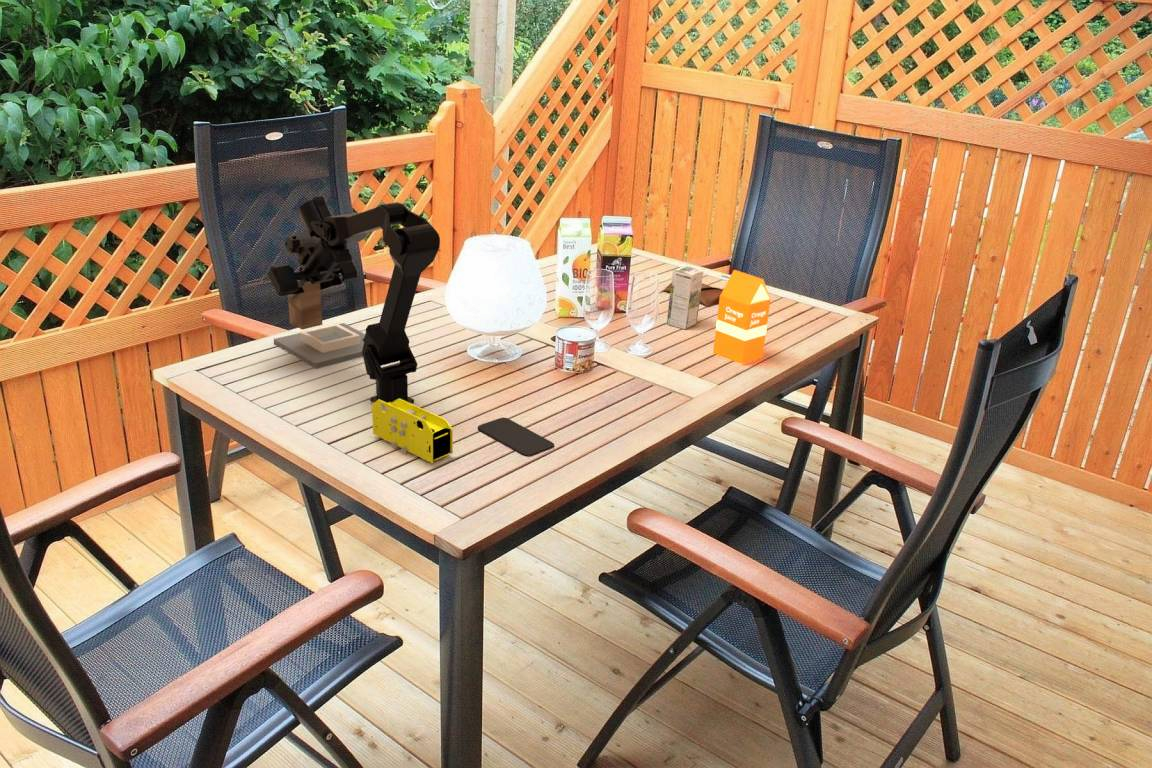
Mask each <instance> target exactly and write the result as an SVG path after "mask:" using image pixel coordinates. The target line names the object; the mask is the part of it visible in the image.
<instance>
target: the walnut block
mask: <svg viewBox="0 0 1152 768" xmlns="http://www.w3.org/2000/svg"><path fill="white" fill-rule="evenodd" d="M302 288H303V290H304V293H302V294H299V295H297V296H295V297H292V298H290V296H289V295H287V302H288V315H289V317H288V318H289V324H290V325H292V326H294V327H296V328H298V329H300V330H303V331H304V330H308V329H310V328H311V329H312V328H314V327H319V326H320V327H321V326H323V311H322V293H321V289H320V283H317V284H311V282H307V283H304V285H303V286H302Z"/></svg>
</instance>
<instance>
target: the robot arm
mask: <svg viewBox="0 0 1152 768" xmlns="http://www.w3.org/2000/svg"><path fill="white" fill-rule="evenodd" d="M297 209H298V213H299V216H300V217H301V219H302V222H303V224H304V226H305V228H306V229H307V231H301V232H295V233H294V234H291V235H289V236H288V237H287V238H286V239H285V242H284V248H285V249H286V250H287V252H289V254H297V256H298V259H297V261H298V264H299V266H302V267H299V268H298V270H299V271H298V272H297V271H296V272H295V270H294V268H293V267H291V265H290V264H288V263H281V264H275V265H271V266H270V268H269V270H268V272H267V275H268V278H269V280H270V282H271V283H272V286H273V287H274V290H275V292H276V294H277V295H278V296H280V297H284V296H288V295H289V296H290V298H292V297H295V296H297V295H299V294H302V293H304V290H303V288H302V286H303V285H304V283H307V282H311V284H317V283H320V289H321V291H325V290H328V289H331V288H334V287H338V286H341V285H342V284H347V283H352V282H356V280H357V278H358V276H359V270H358V268H357V266H356V264H355V262H354V260H353V256H352V254H351V251H350V249H349V245H350V244H355V243H359V242H361V241H363V240H364V239H366V238H367V237H368V234H369V233H371V232H374V231H378V230H382V242H383V243H384V244H385V245H386V246H387V247H388V248H389V252H388V253H389V255H390V257H391V259H392V262H393V264H394V265H393V270H392V274H391V278H390V282H389V284H388V285H389V286H388V289H387V293H386V297H385V300H384V304H383V307H382V312H381V314H380V319H379V322H375V323H372V324H367V327H366V328H365V333H364V334H365V337H364V339H363V342H364V345H363V349H362V354H363V356H362V357H363V363H364V368H365V371H366V375H367V376H369V377H368V378H369V379H370V380H375V394H376V395H373V396H371V397H370V398H369V400H370V401H371V402H372V403H374V402H376V401H377V400H379V399H380V400H382V401H384V402H386V403H389V402H391V403H392V402H394V401H395V400H397V399H399V398H400V399H402V400H404V401H406V402H409V403H411V404H414V403H415V399H413V398H411V397H410V396H409V390H408V388H409V385H408V383H409V382H408V381H409V380H408V374H411V373H416V372H417V368H418V365H419V364H418V362H417V360H416V358H415V356H414V353H413V352H412V350H411V346H410V339H409V337H408V335H407V333H406V326H407V323H408V319H409V316H410V313H411V310H412V306H413V302H414V298H415V295H416V291H417V289H418V285H419V281H420V278H421V276H422V273H423V272H424V271H425V270H426V269H427V268H428V267H429V266H430V265H431V264H432V263H434V261H435V258H436V256H437V255H438V252H439V249H440V245H441V238H440V234H439V233H438V231H437V230H436V229H435V228H434V227H433V225H432V224H431V223H430V222H429V221H428V219H426V218H424V217H423V216H421V215H418V214H417V213H415V212H413V211H411V210H409V208H407V206H406V205H405V204H404V203H401V202H397V201H396V202H389V203H382V204H379V205H378V206H376V207H373V208H371V209H368V210H364V211H362V212H358V213H347V214H341V215H340V214H339V215H333V216H332V213H331V211H330V209H329V207H328V205H327V203H326V200H325V198H324V196H323V195H319V196H314V197H312V199H310V200H308V201H306V202H304V203H303V204H302V205H299V207H298V208H297ZM397 225H401V226H402V227H400V228H396V229H394V228H393V227H392V226H397ZM341 276H342V278H341ZM393 363H394V364H393ZM390 364H391V365H390ZM385 365H386V366H385ZM382 366H383V367H382Z"/></svg>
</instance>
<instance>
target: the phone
mask: <svg viewBox="0 0 1152 768" xmlns="http://www.w3.org/2000/svg"><path fill="white" fill-rule="evenodd" d="M477 431H478V432H480V433H482V434H484V435H485V436H487V437H488V438H490V439H492V440H494V441H496V442H497V443H500V444H502V446H505V447H507V448H509V449H510V450H512V451H514V452H516V453H518V454H520V455H521V456H524V457H527V458H528V457H530V458H531V457H533V456H535V455H538V454H541V453H544V452H546V451H549V450H551V449H554V448H555V443H554V442H552V441H551V440H549V439H547V438H545V437H544V436H542V435H540V434H538V433H537V432H534V431H533V430H530V429H529V428H527V427H525V426H523V425H521V424H519V423H517V422H515V421H514V420H512V419H510V418H508V417H499V418H496V419H493V420H491V421H487V422H485V423H481V424H479V425H477Z"/></svg>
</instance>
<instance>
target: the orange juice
mask: <svg viewBox="0 0 1152 768" xmlns="http://www.w3.org/2000/svg"><path fill="white" fill-rule="evenodd" d="M764 280H765V279H764V278H760V277H758V276H755V275H752V274H748V273H746V272H743V271H739V270H736V269H733V270H732V273H731V274H730V276H729V279H728V280H727V282H726V284H725V286H724V288H723V289H722V290H723V291H722V293H721V295H720V300H719V304H718V309H717V319H716V325H715V332H714V333H715V336H714V341H713V343H714V344H713V352H712V354H713V353H714V354H713V355H715V354H716V355H715V356H717V355H719V356H718V357H720V356H722V357H725V358H728V359H730V360H733V361H735V362H738V363H741V364H743V363H746V362H749V361H754V360H756V359H760V358H762V359H763V357H764V349H765V341H766V335H767V328H768V319H769V313H770V305H771V298H770V297H771V296H770V295H769V292H768V289H767V286H766V284H765V281H764ZM722 357H721V358H722ZM725 358H724V359H725ZM730 360H729V361H730ZM760 360H761V359H760ZM754 362H755V361H754Z"/></svg>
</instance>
